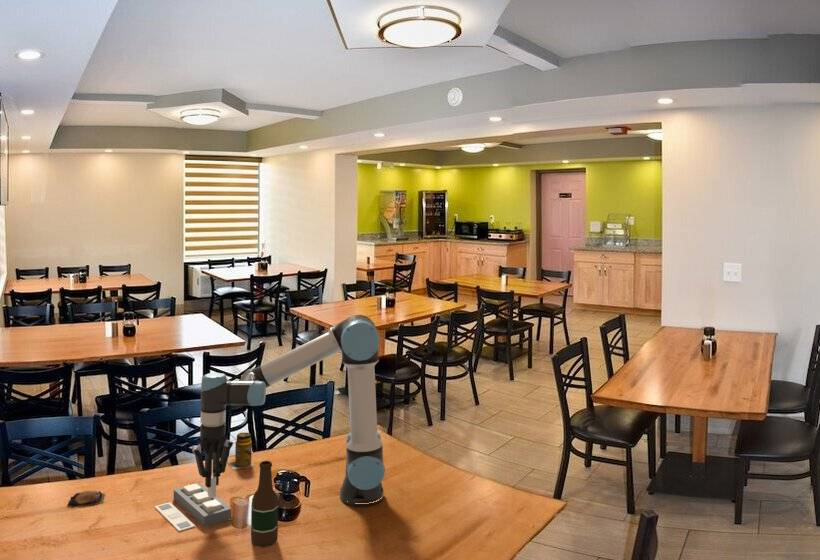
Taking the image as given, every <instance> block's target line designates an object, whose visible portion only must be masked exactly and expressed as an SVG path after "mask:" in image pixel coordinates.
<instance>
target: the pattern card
mask: <svg viewBox="0 0 820 560" xmlns="http://www.w3.org/2000/svg"><path fill="white" fill-rule="evenodd" d="M154 509H156V511H157V512H158V513H159V514H160V515H161V516H162V517H163V518H164V519H166V520H167V522H168V523H169V524H170V525H171V526H172V527H174V528H175V530H176V531H177V532H178V533H179V532H180V533H181V532H183V531H187V530H189V529H193V528H196V525H195V524H194V523H193V522H192V521H191V520H190V519H189V518H188V517H186V515H185V514H183V513H182V512H181V511H180V510H179V509H178V508H177V507H176V506H175V505H174V504H173V503H172V502H166V503H161V504H159V505H155V506H154Z"/></svg>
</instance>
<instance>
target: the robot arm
mask: <svg viewBox="0 0 820 560" xmlns="http://www.w3.org/2000/svg"><path fill="white" fill-rule="evenodd" d="M379 334H380V333H379V330H378V329H377V328H376V325H375V323H374V322H373V320H372V319H371V318H370V317H368V316H366V315H362V314H355V315H350V316H349V317H347V318H346V319H344V320H342V321H340V322H339V323H337V324H335V325H333V326H330V328H329V331H328V332H326V333H324V334H322V335H319V336H318V337H316V338H314V339H312V340H310V341H307V342H306V343H304V344H301V345H299V346H297V347H295V348H293V349H291V350H289V351H288V352H285V353H283V354H281V355H279V356H278V357H275V358H273V359H271V360H269V361H267V362H265V363H263V364H261V365H259V366H257V367H253V368H249V369H247V370H246V371H245V372H243V374H242V375H241V377H240V379H239V380H228V377H227V375H226V373H222V372H221V373H220V372H209V373H207V374H206V373H205V374H204V375H203V376H202V377H201V385H200V423H201V424H200V428H199V432H200V433H199V434H200V436H199V441H198V445H196V447H194V446H193V447H192V448H191V451H192V453H193V455H194V457H195V461H196V466H197V470H198V471H197V472H198V473H199V476H200V477H202V478H204V479H205V480H204V481H205V483H204V485H205V487H206V488H207V489H208V496H209V497H211V498H214V497H216V496H217V486H218V485H219V484H220V481H219V480H220V478H219V477H221V474H222V473H223V474H224V473H225V472H226V467H227V465H228V460H229V455H230V452H231V449H232V447H233V445H234V442H233V441H231V440H230V439H227V437H226V419H227V418H226V417H227V416H226V415H227V413H226V412H227V410H226V409H227V406H251V407H255V406H262V405H264V404H265V402H266V396H267V395H266V394H267V388H269V387H271V386H273V385H275V384H277V383H278V382H280V381H283V380H285V379H287V378H290V377H291V376H293V375H295V374H297V373H300V371H303V370H305V369H307V368H309V367H311V366H313V365H315V364H317V363H320V362H321V361H323V360H325V359H327V358H329V357H331V356H333V355H336V354H338V353H340V354H341V361H342V364H343V365H345V366H346V367H347V385H348V389H347V390H348V406H349V409H348V410H349V430H350V432H349V433H347V435H346V440H345V442H346V453H345V454H346V455H345V476H344V478H343V481H342V485H341V487H340V490H339V499H340V500H341V501H342V502H343V503H345V504H347V505H350V506H353V507H370V506H375V505H377V504H379V503H381V502H382V501H383V499H384V495H383V494H384V493H385V491H384V487H383V484H382V482H383V480H384V477H385V473H386V467H385V464H384V451H383V449H384V447H383V445H384V444H383V441H382V438H381V434H380V433H379V432H378V418H377V417H378V416H377V415H378V414H377V394H376V393H377V392H376V373H375V367H376V365H377V363H379V361H380V359H379V358H380V355H379V354H380V353H379V352H380V351H379V350H380V348H379V346H380V335H379ZM202 450H203V451H204V452H203V453H204V460H203V457H202V456H203V455H202ZM221 450H222V452H221ZM382 496H383V498H382V499H380V498H381V497H382ZM378 499H380V500H379V501H377V502H374V503H369V502H373V501H376V500H378ZM347 501H348V502H347ZM355 503H369V504H355Z"/></svg>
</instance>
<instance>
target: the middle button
mask: <svg viewBox="0 0 820 560" xmlns="http://www.w3.org/2000/svg"><path fill="white" fill-rule="evenodd" d="M192 501H193V502H194V503H196V504H201V503H204V502H207V501H211V497H209V496H208V493H207V492H206V491H204V492H200V493H196V494H193V499H192Z"/></svg>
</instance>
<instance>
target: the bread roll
mask: <svg viewBox="0 0 820 560" xmlns="http://www.w3.org/2000/svg"><path fill="white" fill-rule="evenodd" d="M105 497H106V494H105V493H102V492H101V490H99V491H97V490H85V491H81V492H76V493H75V494H74V495H73V496H70V498H69V499H70V500H68V502H67V506H68V508H74V507H75V508H76V507H85V506H94V505H100V504H104V501H105Z"/></svg>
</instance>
